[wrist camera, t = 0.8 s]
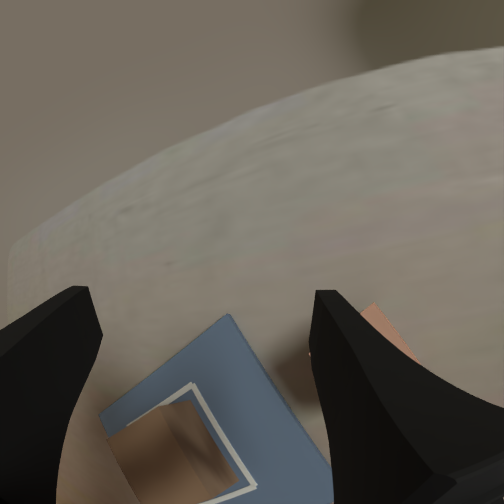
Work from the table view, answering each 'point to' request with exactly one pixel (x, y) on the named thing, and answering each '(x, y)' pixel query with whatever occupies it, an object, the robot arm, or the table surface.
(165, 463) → the walnut base block
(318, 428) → the table surface
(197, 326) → the table surface
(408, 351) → the terracotta block
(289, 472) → the blueprint board
